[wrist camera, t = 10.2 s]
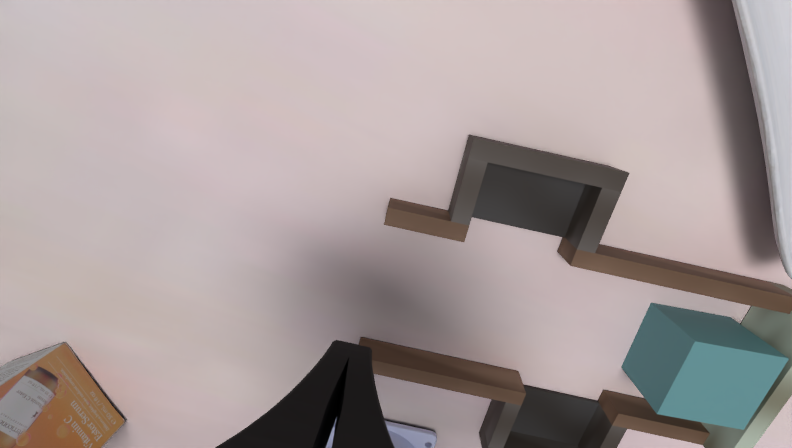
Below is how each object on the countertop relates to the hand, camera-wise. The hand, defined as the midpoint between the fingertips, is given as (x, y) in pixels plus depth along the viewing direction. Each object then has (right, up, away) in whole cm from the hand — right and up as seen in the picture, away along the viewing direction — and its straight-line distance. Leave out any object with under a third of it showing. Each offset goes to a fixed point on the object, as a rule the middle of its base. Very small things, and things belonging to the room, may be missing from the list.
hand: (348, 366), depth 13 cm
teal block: (+20, -3, +11) cm, 23 cm away
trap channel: (+12, -1, +11) cm, 16 cm away
